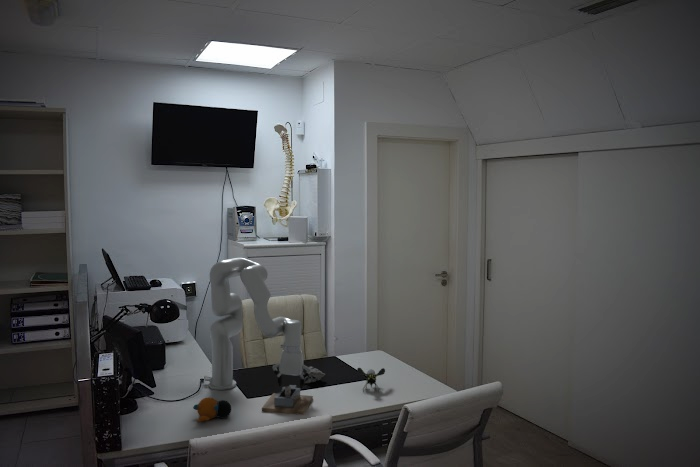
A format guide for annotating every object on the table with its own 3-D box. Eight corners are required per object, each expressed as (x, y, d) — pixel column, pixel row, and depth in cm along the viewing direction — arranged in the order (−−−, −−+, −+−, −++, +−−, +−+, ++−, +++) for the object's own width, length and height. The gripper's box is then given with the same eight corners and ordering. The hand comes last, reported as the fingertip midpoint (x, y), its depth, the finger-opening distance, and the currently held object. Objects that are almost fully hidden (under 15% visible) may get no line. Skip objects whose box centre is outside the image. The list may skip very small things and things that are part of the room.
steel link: (292, 408, 237) (293, 399, 236) (274, 407, 238) (274, 397, 238) (301, 394, 253) (301, 385, 252) (284, 393, 254) (284, 384, 253)
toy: (194, 397, 234) (231, 399, 238) (191, 422, 231) (228, 424, 234) (195, 395, 224) (233, 397, 227) (192, 421, 220) (231, 423, 224)
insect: (356, 396, 256) (356, 374, 255) (356, 383, 272) (357, 362, 271) (385, 396, 255) (386, 375, 255) (384, 384, 272) (385, 363, 271)
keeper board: (261, 411, 237) (261, 392, 236) (273, 396, 254) (273, 378, 253) (303, 414, 234) (304, 395, 234) (312, 399, 251) (312, 381, 250)
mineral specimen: (309, 389, 277) (315, 391, 267) (297, 379, 276) (302, 380, 266) (321, 373, 280) (327, 374, 271) (309, 363, 279) (314, 363, 270)
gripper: (270, 349, 247) (269, 387, 249) (309, 352, 245) (308, 390, 246) (275, 344, 254) (274, 381, 256) (313, 347, 252) (312, 384, 254)
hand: (291, 385), depth 251 cm, fingers open, 9 cm apart
